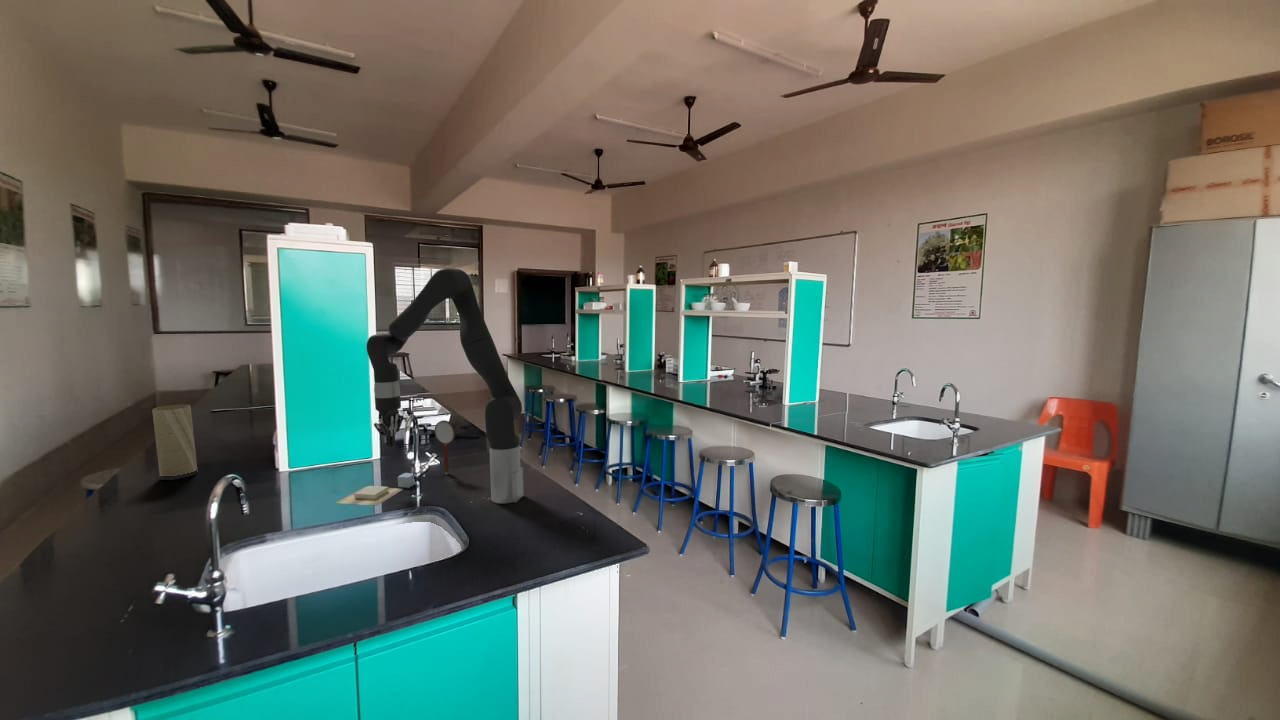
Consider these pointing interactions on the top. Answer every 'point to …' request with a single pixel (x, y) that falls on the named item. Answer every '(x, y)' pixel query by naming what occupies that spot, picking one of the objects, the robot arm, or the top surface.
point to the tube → (174, 440)
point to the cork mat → (377, 501)
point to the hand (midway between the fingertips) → (391, 446)
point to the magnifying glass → (445, 437)
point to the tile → (371, 492)
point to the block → (406, 480)
